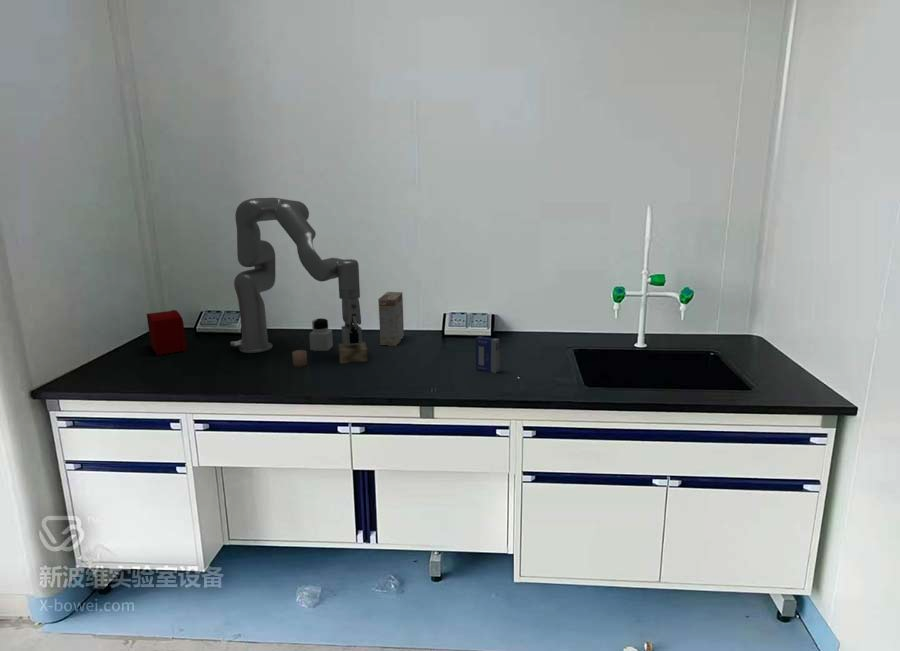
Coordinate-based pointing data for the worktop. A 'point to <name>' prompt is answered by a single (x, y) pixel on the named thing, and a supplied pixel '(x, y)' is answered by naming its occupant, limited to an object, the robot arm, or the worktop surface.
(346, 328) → the grey cube
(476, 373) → the worktop surface
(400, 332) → the coffeecake box
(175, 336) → the fire alarm
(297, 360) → the terracotta cylinder
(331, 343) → the medicine bottle
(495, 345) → the walkman
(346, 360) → the oak block
